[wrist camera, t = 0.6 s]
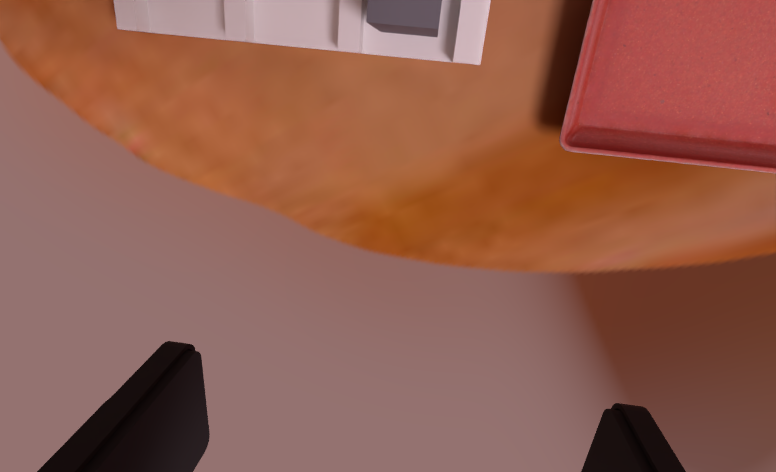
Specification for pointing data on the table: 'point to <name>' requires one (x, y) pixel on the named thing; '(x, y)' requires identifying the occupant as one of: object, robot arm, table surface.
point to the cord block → (405, 16)
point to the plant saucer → (677, 83)
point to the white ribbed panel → (311, 25)
